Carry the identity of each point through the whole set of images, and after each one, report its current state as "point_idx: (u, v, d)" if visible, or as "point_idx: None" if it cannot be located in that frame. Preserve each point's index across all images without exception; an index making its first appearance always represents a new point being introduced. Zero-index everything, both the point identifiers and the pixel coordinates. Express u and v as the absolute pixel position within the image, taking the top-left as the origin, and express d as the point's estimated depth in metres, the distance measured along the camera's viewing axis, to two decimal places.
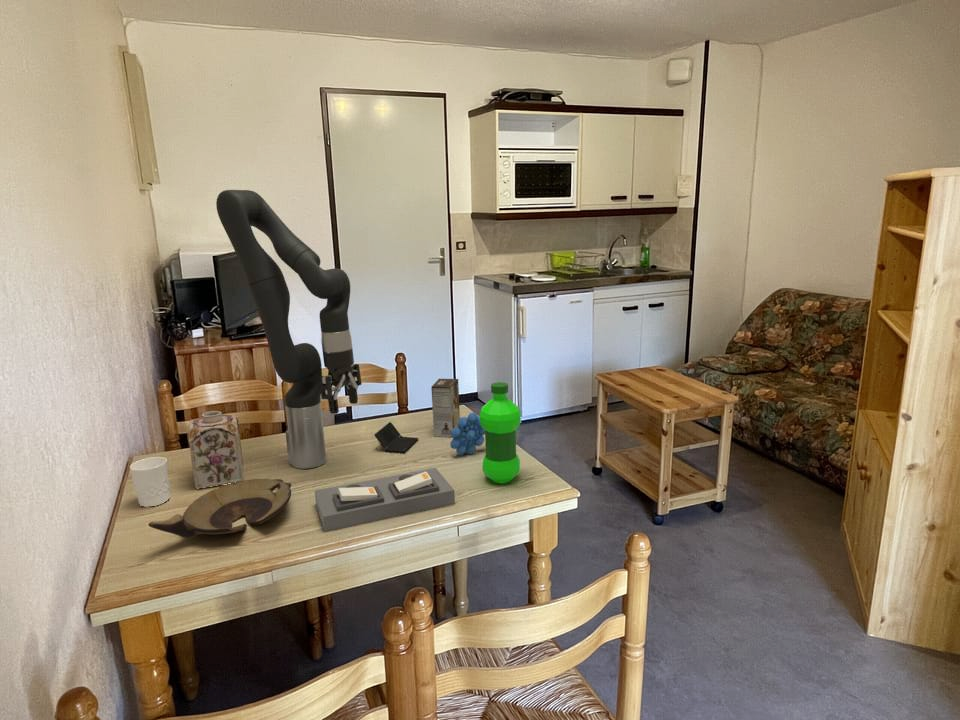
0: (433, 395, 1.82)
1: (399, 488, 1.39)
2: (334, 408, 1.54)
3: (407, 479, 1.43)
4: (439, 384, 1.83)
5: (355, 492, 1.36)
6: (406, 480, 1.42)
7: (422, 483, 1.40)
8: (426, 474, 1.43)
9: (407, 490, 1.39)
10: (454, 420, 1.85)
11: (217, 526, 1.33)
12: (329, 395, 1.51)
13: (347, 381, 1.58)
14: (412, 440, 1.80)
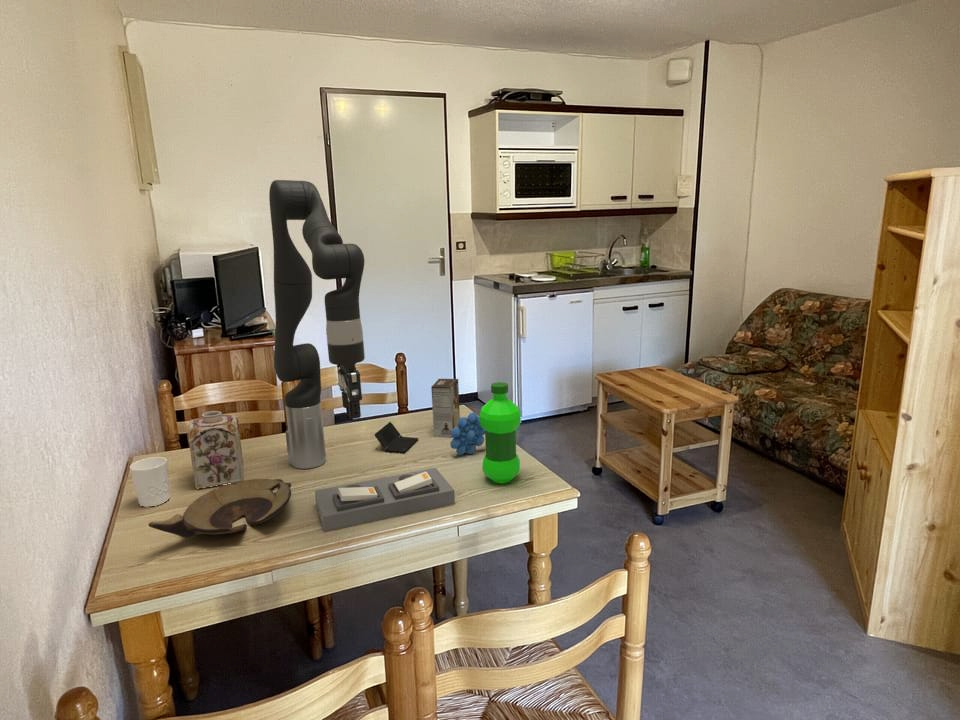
0: (433, 395, 1.82)
1: (399, 488, 1.39)
2: None
3: (407, 479, 1.43)
4: (439, 384, 1.83)
5: (355, 492, 1.36)
6: (406, 480, 1.42)
7: (422, 483, 1.40)
8: (426, 474, 1.43)
9: (407, 490, 1.39)
10: (454, 420, 1.85)
11: (217, 526, 1.33)
12: (338, 381, 1.37)
13: None
14: (412, 440, 1.80)
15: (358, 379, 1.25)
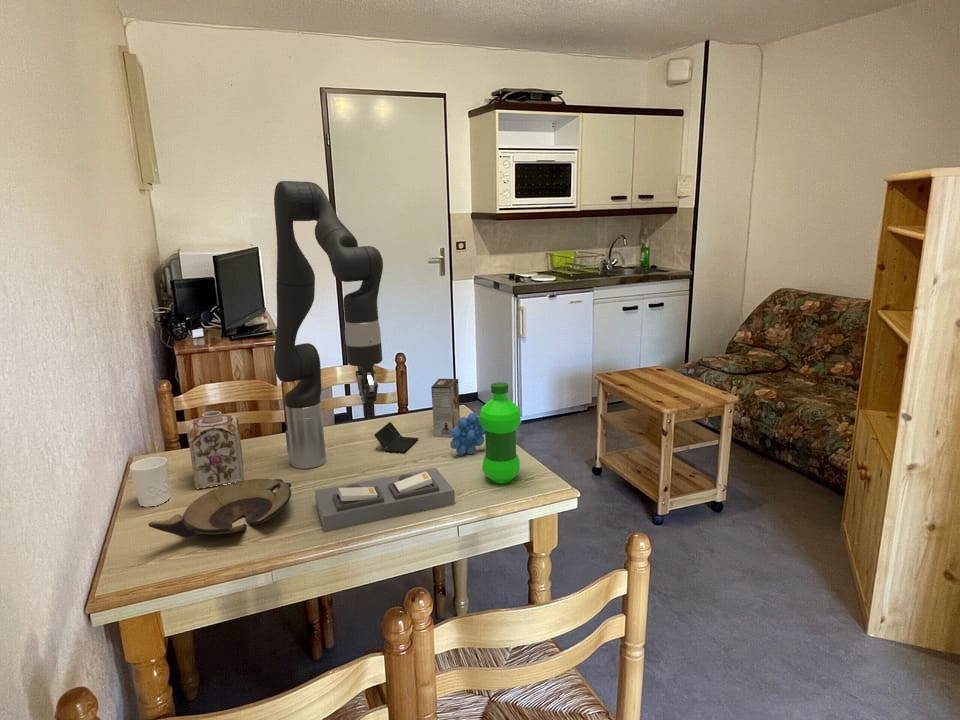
0: (433, 395, 1.82)
1: (399, 488, 1.39)
2: None
3: (407, 479, 1.43)
4: (439, 384, 1.83)
5: (355, 492, 1.36)
6: (406, 480, 1.42)
7: (422, 483, 1.40)
8: (426, 474, 1.43)
9: (407, 490, 1.39)
10: (454, 420, 1.85)
11: (217, 526, 1.33)
12: (359, 391, 1.35)
13: None
14: (412, 440, 1.80)
15: (375, 390, 1.28)
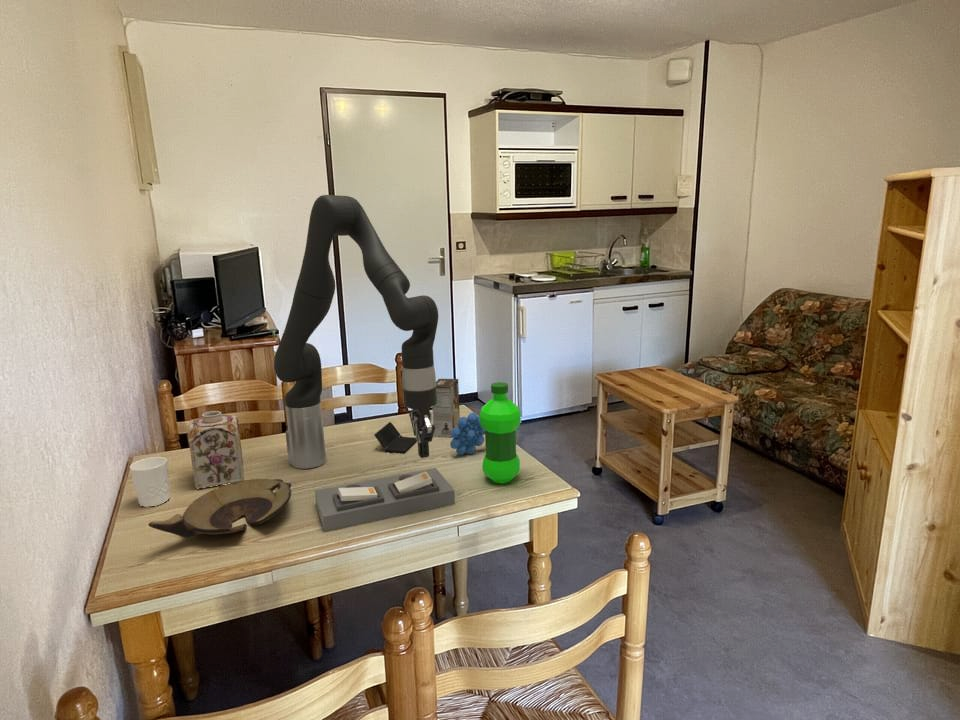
0: None
1: (399, 488, 1.39)
2: None
3: (407, 479, 1.43)
4: (439, 384, 1.83)
5: (355, 492, 1.36)
6: (406, 480, 1.42)
7: (422, 483, 1.40)
8: (426, 474, 1.43)
9: (407, 490, 1.39)
10: (454, 420, 1.85)
11: (217, 526, 1.33)
12: (414, 430, 1.42)
13: None
14: (412, 440, 1.80)
15: (432, 431, 1.35)
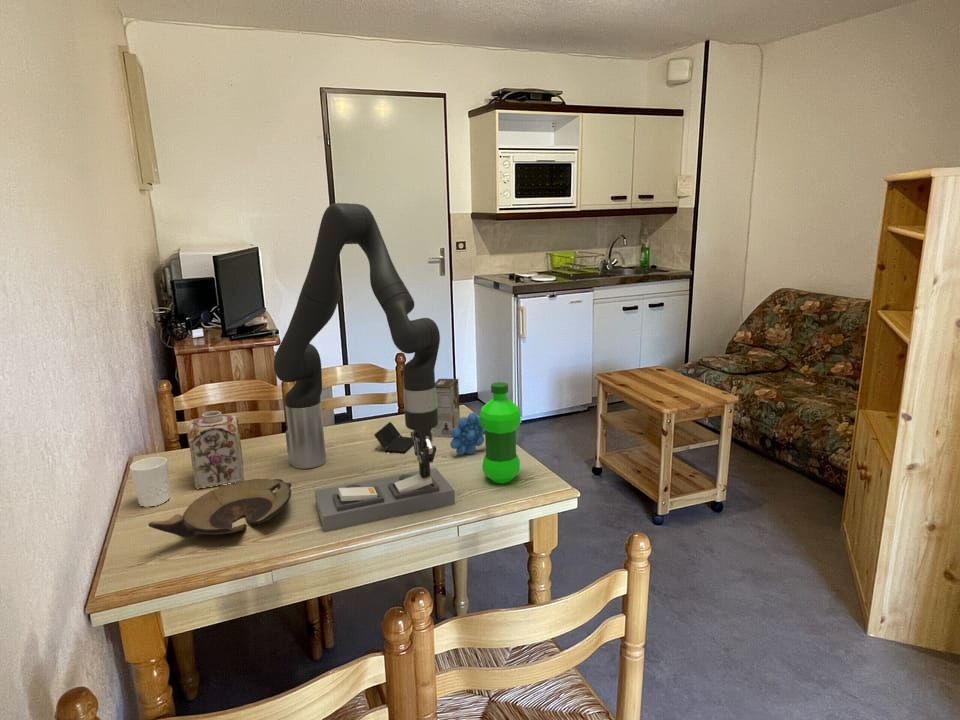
0: None
1: (399, 488, 1.39)
2: None
3: (407, 479, 1.43)
4: (439, 384, 1.83)
5: (355, 492, 1.36)
6: (406, 480, 1.42)
7: (422, 483, 1.40)
8: None
9: (407, 490, 1.39)
10: (454, 420, 1.85)
11: (217, 526, 1.33)
12: (415, 450, 1.44)
13: None
14: None
15: (433, 453, 1.36)
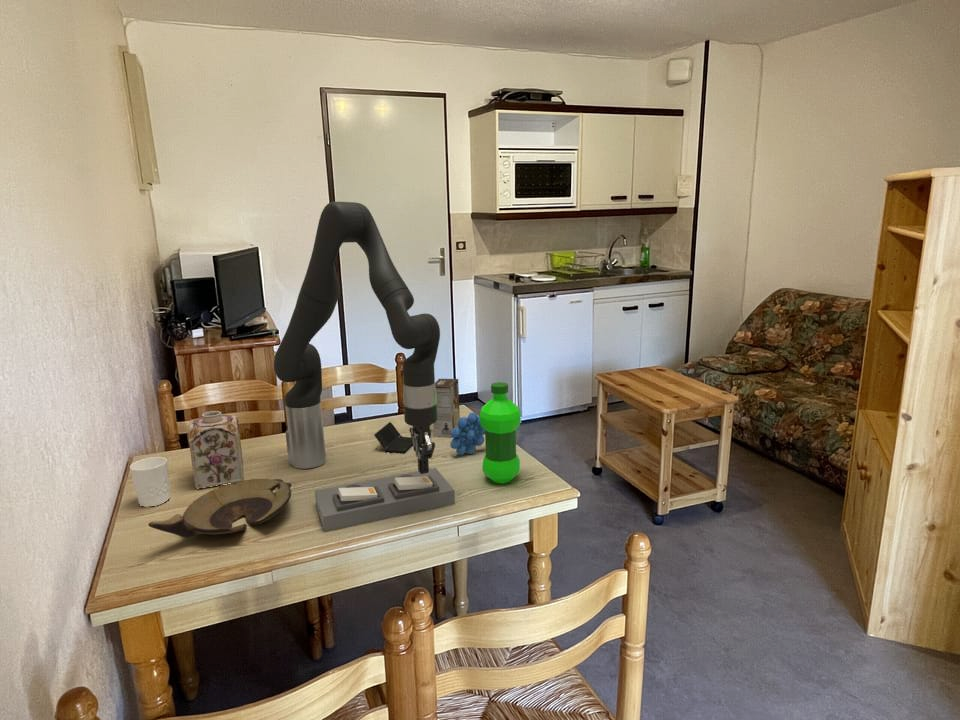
0: None
1: (399, 483, 1.39)
2: None
3: (408, 478, 1.43)
4: (439, 384, 1.83)
5: (355, 492, 1.36)
6: (407, 478, 1.42)
7: (422, 485, 1.41)
8: (427, 478, 1.44)
9: (407, 487, 1.39)
10: (454, 420, 1.85)
11: (217, 526, 1.33)
12: (414, 446, 1.43)
13: None
14: None
15: (432, 449, 1.36)
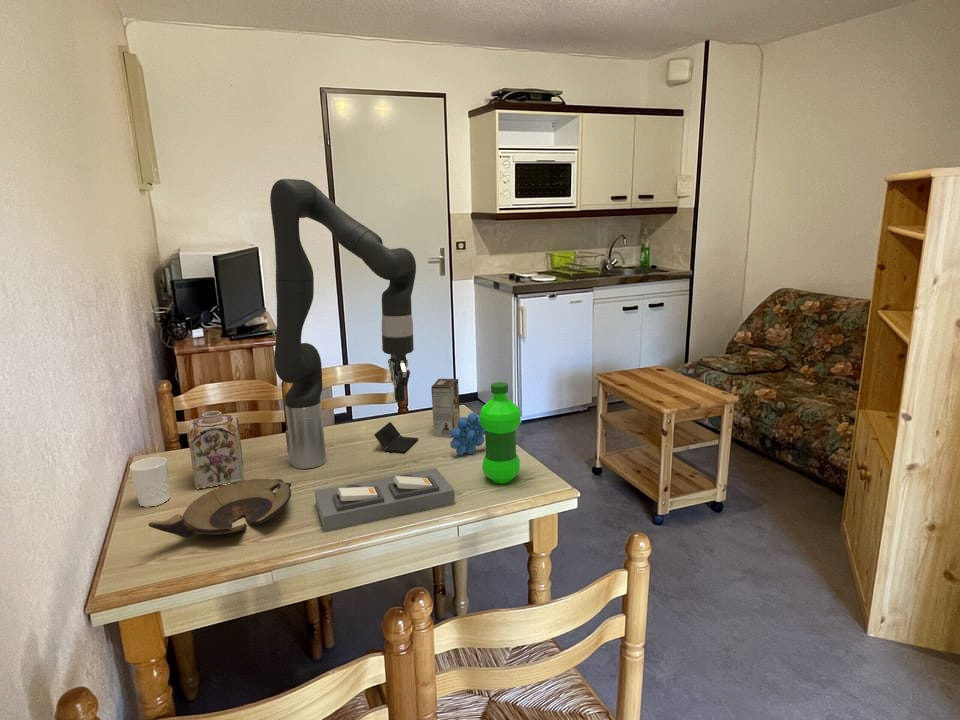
0: (433, 395, 1.82)
1: (400, 481, 1.39)
2: None
3: (408, 477, 1.43)
4: (439, 384, 1.83)
5: (355, 492, 1.36)
6: (407, 478, 1.42)
7: (422, 486, 1.41)
8: (427, 480, 1.44)
9: (407, 486, 1.39)
10: (454, 420, 1.85)
11: (217, 526, 1.33)
12: (391, 376, 1.52)
13: None
14: (412, 440, 1.80)
15: (407, 376, 1.44)
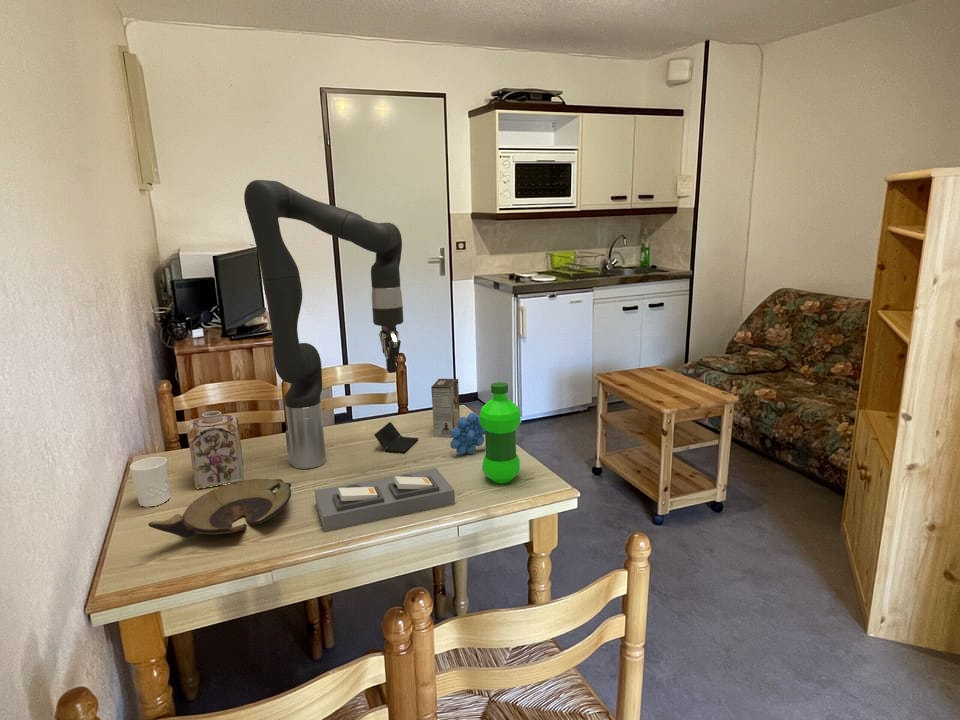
0: (433, 395, 1.82)
1: (400, 482, 1.39)
2: None
3: (408, 477, 1.43)
4: (439, 384, 1.83)
5: (355, 492, 1.36)
6: (407, 478, 1.42)
7: (422, 486, 1.41)
8: (427, 480, 1.44)
9: (407, 487, 1.39)
10: (454, 420, 1.85)
11: (217, 526, 1.33)
12: (383, 349, 1.56)
13: None
14: (412, 440, 1.80)
15: (398, 346, 1.49)
